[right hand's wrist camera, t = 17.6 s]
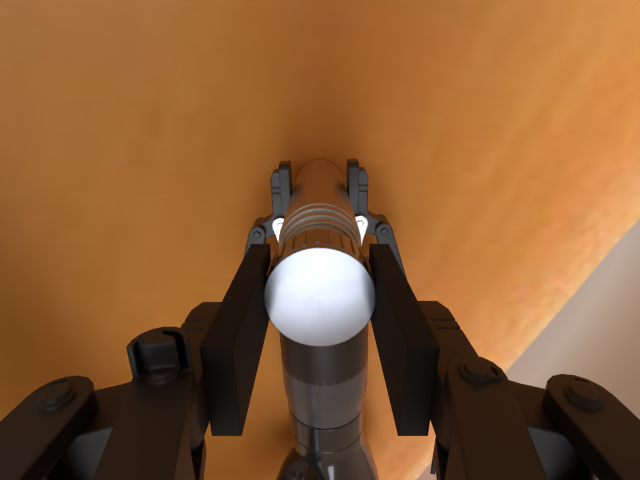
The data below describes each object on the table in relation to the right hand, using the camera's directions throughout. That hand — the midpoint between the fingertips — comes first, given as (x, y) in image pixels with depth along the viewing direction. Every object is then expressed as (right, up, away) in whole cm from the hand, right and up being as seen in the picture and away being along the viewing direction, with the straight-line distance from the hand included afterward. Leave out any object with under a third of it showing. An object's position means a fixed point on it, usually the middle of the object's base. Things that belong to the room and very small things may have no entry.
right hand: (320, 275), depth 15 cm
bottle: (0, +7, +18) cm, 19 cm away
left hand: (0, +7, +11) cm, 13 cm away
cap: (0, -1, -2) cm, 2 cm away
